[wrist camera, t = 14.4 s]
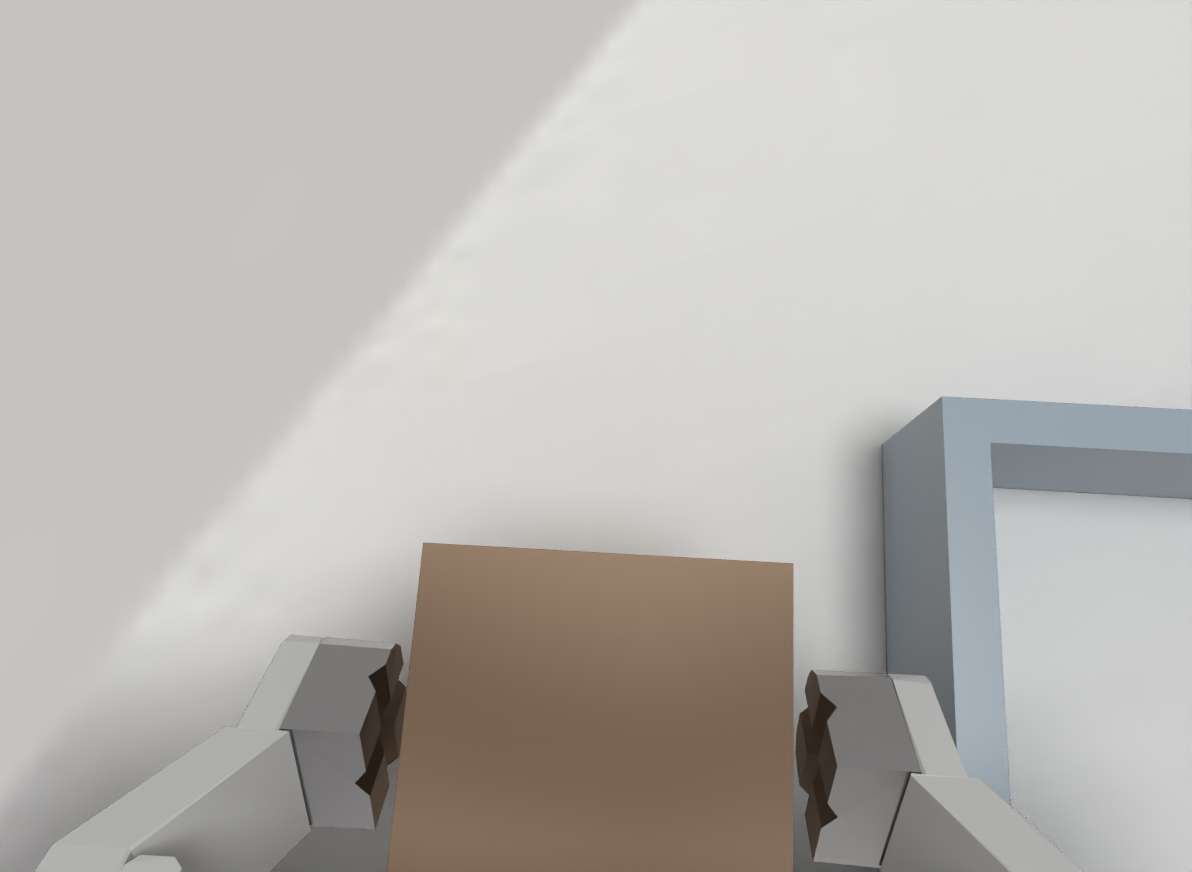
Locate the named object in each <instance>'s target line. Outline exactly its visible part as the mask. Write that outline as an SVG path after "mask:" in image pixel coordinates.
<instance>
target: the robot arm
mask: <svg viewBox="0 0 1192 872" xmlns="http://www.w3.org/2000/svg"><path fill="white" fill-rule="evenodd" d="M402 666H403V659H402V653H401V646H399V645H398V644H396V643H385V642H374V641H363V640H352V639H340V638H329V637H326V638H320V637H309V636H299V635H290V636H289V637H288V638H286V639H285V640H284V641H283V642H282V643H281V645H280V647H279V648H278V650H277V652H276V654H275V656H274V658H273V660H272V661H271V663H270V665H269V667H268V669H267V671H266V673H265V674H264V676H263V678H262V680H261V682H260V684H259V686H258V688H257V689H256V691H255V693H254V695H253V697H252V699H251V701H250V702H249V704H248V706H247V708H246V710H245V712H244V714H243V715H242V717H241V719H240V721H239V723H238V725H237V727H224V728H223V729H221V730H220V731H218V732H217V733H215V734H214V735H212V736H211V737H209V738H208V739H207V740H205V741H204V742H202V743H201V744H199V745H198V746H196V747H195V748H193V749H192V750H190V751H189V752H187V753H186V754H185V755H183V756H182V757H180V758H179V759H177V760H176V761H174V762H173V763H171V764H170V765H168V766H167V767H165V768H164V769H163V770H161V771H160V772H158V773H157V774H155V775H154V776H152V777H151V778H149V779H148V780H146V781H145V782H143V783H142V784H141V785H139V786H138V787H136V788H135V789H133V790H132V791H130V792H129V793H127V794H126V795H124V796H123V797H121V798H120V799H118V800H117V801H116V802H114V803H113V804H111V805H110V806H108V807H107V808H105V809H104V810H102V811H101V812H99V813H98V814H96V815H95V816H94V817H92V818H91V819H89V820H88V821H86V822H85V823H83V824H82V825H80V826H79V827H77V828H76V829H74V830H73V831H72V832H70V833H69V834H67V835H66V836H64V837H63V838H61V839H60V840H58V841H57V842H55V843H54V844H53V845H52V846H51V848H50V849H49V851H48V852H47V854H46V855H45V857H44V858H43V860H42V861H41V862H40V864H39V865H38V867H37V868H36V870H35V871H34V872H270V871H271V870H272V869H273V868H274V867H275V866H276V865H277V864H278V863H279V862H280V861H281V860H282V859H283V858H284V857H285V856H286V855H287V854H288V853H289V852H290V851H291V850H292V849H293V848H294V847H295V846H296V845H297V844H298V843H299V842H300V841H301V840H302V839H303V838H304V837H305V836H306V835H307V834H308V833H309V832H310V831H311V829H310V827H329V828H352V829H375V828H376V825H377V822H378V819H379V815H380V812H381V809H382V806H383V803H384V800H385V797H386V794H387V791H388V787H389V781H388V773H387V766H388V765H389V764H391V763H392V762H393V761H394V760H395V759H397V758H398V756H399V752H400V749H401V740H402V731H403V721H404V712H405V703H406V694H407V692H406V687H405V686H404V685H403V684H402V683H401V682H400V681H399V680H398V678H399V675H400V672H401V669H402ZM805 694H806V699H807V704H808V708H807V709H805V710H804V711H803V712H801V713H800V716H799V721H798V727H797V736H796V761H797V771H798V777H799V783H800V786H801V787H802V788H803V789H804V790H805V791H806V792H807V793H808V795H809V799H808V803H807V808H806V812H805V818H806V824H807V829H808V835H809V840H810V846H811V852H812V857H813V861H814V862H824V863H834V864H844V865H854V866H864V867H874V868H880V872H1084V871H1083V870H1081V869H1080V868H1079V867H1078V866H1077V865H1076V864H1075V863H1074V862H1072V861H1071V860H1070V859H1069V858H1068V857H1067V856H1066V855H1065V854H1063V853H1062V852H1061V851H1060V850H1059V849H1058V848H1057V847H1055V846H1054V845H1053V844H1052V843H1051V842H1050V841H1049V840H1048V839H1046V838H1045V837H1044V836H1043V835H1042V834H1041V833H1040V832H1039V831H1037V830H1036V829H1035V828H1034V827H1033V826H1032V825H1031V824H1030V823H1028V822H1027V821H1026V820H1025V819H1024V818H1023V817H1022V816H1021V815H1019V814H1018V813H1017V812H1016V811H1015V810H1014V809H1013V808H1012V807H1010V806H1009V805H1008V804H1007V803H1006V802H1005V801H1004V800H1003V799H1001V798H1000V797H999V796H998V795H997V794H996V793H995V792H994V791H992V790H991V789H990V788H989V787H988V786H987V785H986V784H985V783H983V782H982V781H981V780H980V779H979V778H969V777H967V776H966V773H965V770H964V768H963V765H962V762H961V760H960V757H959V755H958V752H957V749H956V747H955V744H954V742H953V739H952V736H951V734H950V731H949V728H948V726H947V723H946V721H945V718H944V715H943V713H942V710H941V707H940V705H939V702H938V700H937V697H936V694H935V692H934V689H933V687H932V684H931V682H930V680H929V679H928V678H927V677H926V676H921V675H902V674H886V675H885V674H882V673H864V672H845V671H827V670H811V672H810V674H809V676H808V679H807V683H806V687H805Z"/></svg>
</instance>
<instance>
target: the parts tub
mask: <svg viewBox="0 0 1192 872" xmlns="http://www.w3.org/2000/svg"><path fill="white" fill-rule="evenodd" d="M882 459H883V503H884V547H885V592H886V636H887V674H902V675H921V676H926V677H927V678H928V679H929V680H930V682H931V684H932V687H933V689H934V692H935V694H936V697H937V700H938V702H939V705H940V707H941V710H942V713H943V715H944V718H945V721H946V723H947V726H948V728H949V731H950V734H951V736H952V739H953V742H954V744H955V747H956V749H957V752H958V755H959V757H960V760H961V762H962V765H963V768H964V770H965V773H966V776H967V777H969V778H979V779H980V780H981V781H982V782H983V783H985V784H986V785H987V786H988V787H989V788H990V789H991V790H992V791H994V792H995V793H996V794H997V795H998V796H999V797H1000V798H1001V799H1003V800H1004V801H1005V802H1006V803H1007V804H1008V805H1009V806H1010V807H1011V805H1010V787H1009V769H1008V751H1007V733H1006V715H1005V697H1004V680H1003V662H1002V644H1001V626H1000V608H999V590H998V572H997V555H996V537H995V519H994V501H993V487H997V488H1014V489H1031V490H1049V491H1066V492H1084V493H1101V494H1118V495H1136V496H1153V497H1170V498H1188V499H1192V410H1184V409H1166V408H1147V407H1129V406H1110V405H1092V404H1073V403H1055V402H1036V401H1018V400H999V399H981V398H962V397H943V396H942V397H941V398H940V399H938V400H937V401H936V402H935V403H933V404H932V405H931V406H930V407H928V408H927V409H926V410H925V411H923V412H922V413H921V414H920V415H919V416H917V417H916V418H915V419H914V420H912V421H911V422H910V423H909V424H907V425H906V426H905V427H904V428H902V429H901V430H900V431H899V432H898V433H896V434H895V435H894V436H893V437H891V438H890V439H889V440H888V441H886V442H885V443H884V444H883V445H882Z"/></svg>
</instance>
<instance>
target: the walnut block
mask: <svg viewBox="0 0 1192 872" xmlns="http://www.w3.org/2000/svg"><path fill="white" fill-rule="evenodd" d="M387 872H793V563H775V562H758V561H740V560H722V559H704V558H687V557H669V556H651V555H633V554H615V553H598V552H580V551H562V550H544V549H527V548H509V547H491V546H473V545H456V544H438V543H423V549H422V558H421V567H420V576H419V585H418V594H417V603H416V612H415V621H414V631H413V640H412V649H411V658H410V667H409V676H408V685H407V694H406V703H405V712H404V721H403V731H402V740H401V749H400V758H399V767H398V776H397V785H396V794H395V803H394V812H393V821H392V830H391V840H390V849H389V858H388V867H387Z"/></svg>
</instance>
